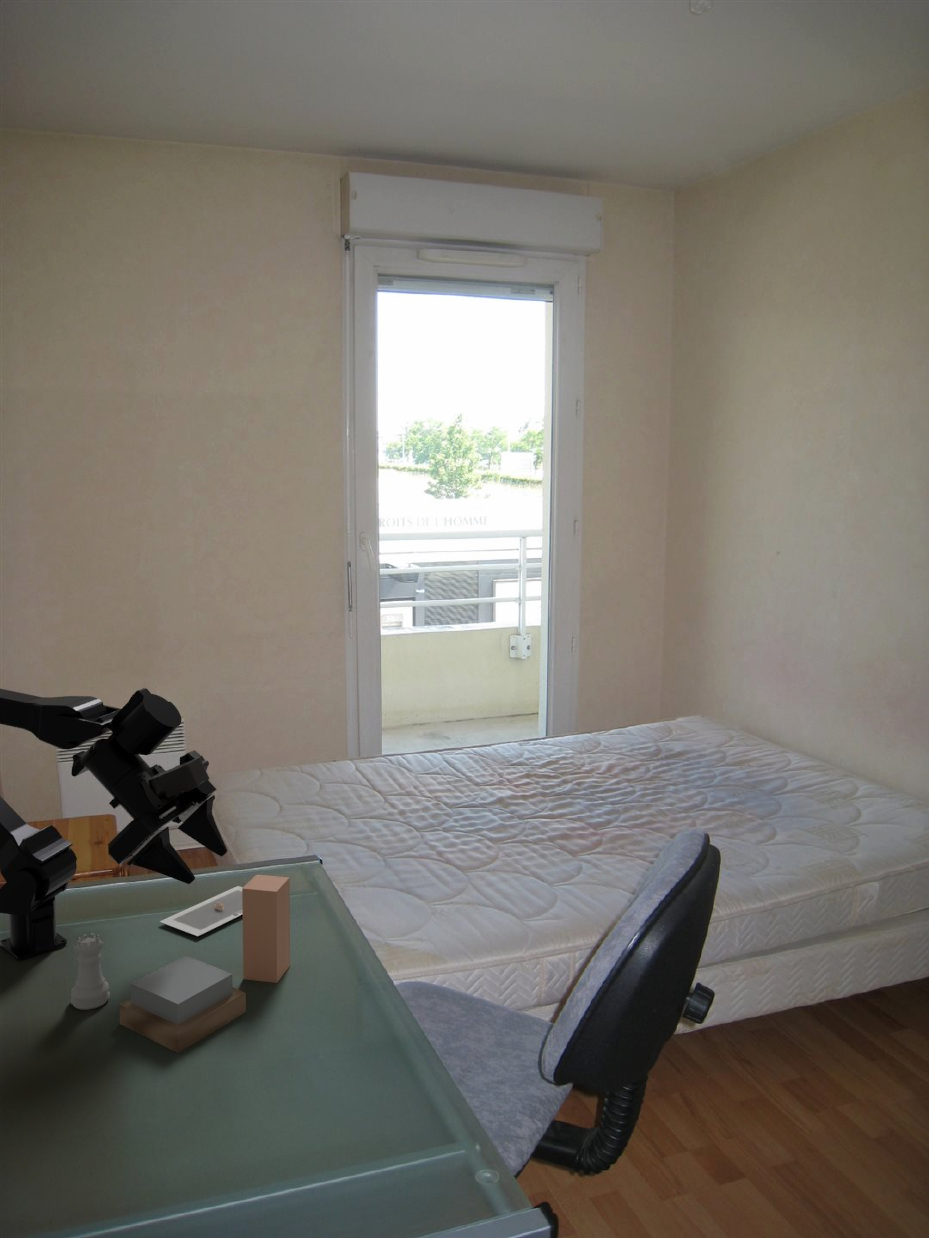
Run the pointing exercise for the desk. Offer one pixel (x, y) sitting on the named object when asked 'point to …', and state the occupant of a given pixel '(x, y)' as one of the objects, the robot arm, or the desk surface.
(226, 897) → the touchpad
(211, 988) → the tower top
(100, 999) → the rook chess piece
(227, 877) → the desk surface
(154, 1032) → the tower base
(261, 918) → the pillar
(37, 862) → the robot arm
